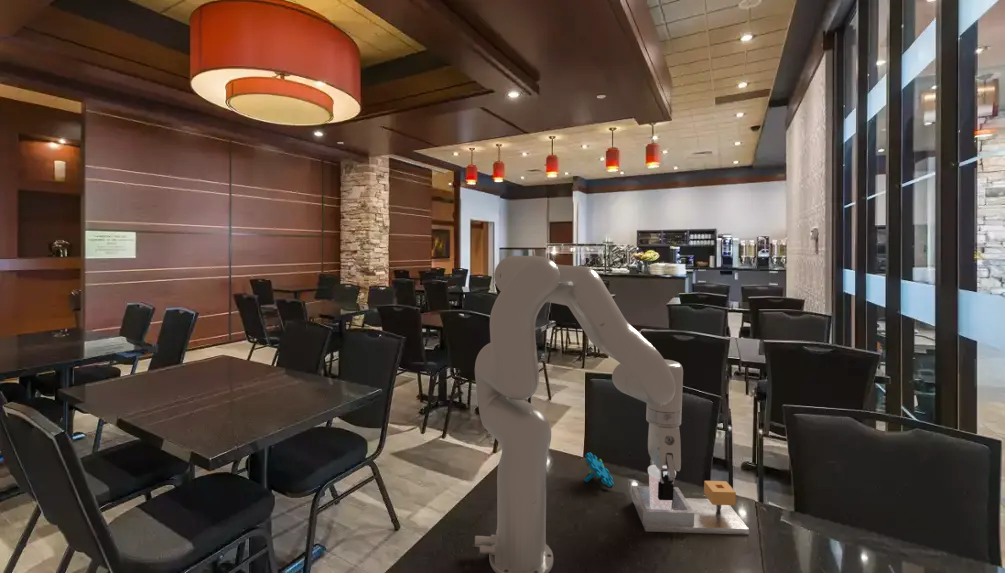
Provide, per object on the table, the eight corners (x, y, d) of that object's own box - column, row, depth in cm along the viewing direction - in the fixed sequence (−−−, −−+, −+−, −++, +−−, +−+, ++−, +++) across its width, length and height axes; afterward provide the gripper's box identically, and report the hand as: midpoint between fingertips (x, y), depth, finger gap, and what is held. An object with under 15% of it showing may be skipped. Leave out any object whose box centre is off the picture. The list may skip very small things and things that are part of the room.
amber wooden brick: (712, 504, 104) (712, 491, 104) (703, 493, 109) (704, 480, 109) (735, 505, 104) (735, 492, 103) (725, 493, 109) (726, 481, 108)
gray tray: (643, 531, 101) (643, 512, 101) (630, 501, 113) (631, 484, 113) (748, 534, 100) (749, 515, 100) (725, 504, 112) (725, 486, 112)
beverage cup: (642, 501, 110) (644, 444, 109) (667, 500, 110) (669, 443, 109) (653, 516, 104) (655, 455, 102) (679, 514, 104) (682, 454, 103)
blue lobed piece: (614, 489, 116) (586, 456, 118) (596, 503, 117) (569, 471, 119) (617, 474, 126) (591, 445, 129) (600, 488, 128) (576, 458, 130)
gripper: (694, 430, 96) (690, 513, 98) (668, 402, 114) (666, 474, 115) (657, 429, 97) (654, 512, 98) (637, 402, 114) (635, 473, 115)
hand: (660, 490), depth 107 cm, fingers closed on beverage cup, 6 cm apart
